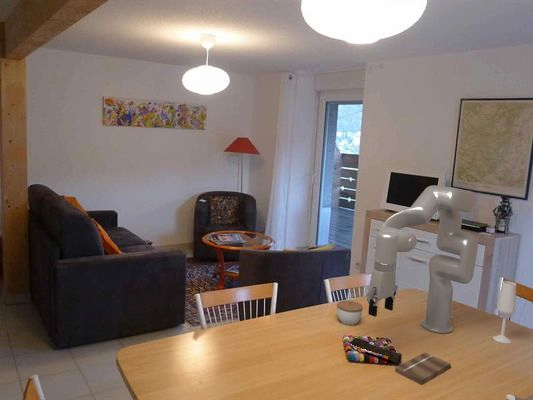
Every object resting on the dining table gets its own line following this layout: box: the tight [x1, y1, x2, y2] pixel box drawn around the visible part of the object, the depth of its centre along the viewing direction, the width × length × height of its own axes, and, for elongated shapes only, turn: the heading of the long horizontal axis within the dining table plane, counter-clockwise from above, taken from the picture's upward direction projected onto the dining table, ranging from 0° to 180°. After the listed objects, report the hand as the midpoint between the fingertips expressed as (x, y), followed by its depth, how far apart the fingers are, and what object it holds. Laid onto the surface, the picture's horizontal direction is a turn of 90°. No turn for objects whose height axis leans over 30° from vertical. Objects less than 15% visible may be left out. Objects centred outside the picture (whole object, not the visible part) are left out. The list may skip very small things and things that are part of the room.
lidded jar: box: [336, 300, 364, 326], centre depth 194 cm, size 11×11×9 cm
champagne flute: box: [492, 280, 517, 344], centre depth 184 cm, size 7×7×24 cm
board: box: [394, 352, 452, 385], centre depth 157 cm, size 19×10×2 cm, turn 131°
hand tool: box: [350, 337, 403, 367], centre depth 165 cm, size 19×4×5 cm, turn 52°
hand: (380, 312), depth 164 cm, fingers open, 9 cm apart
